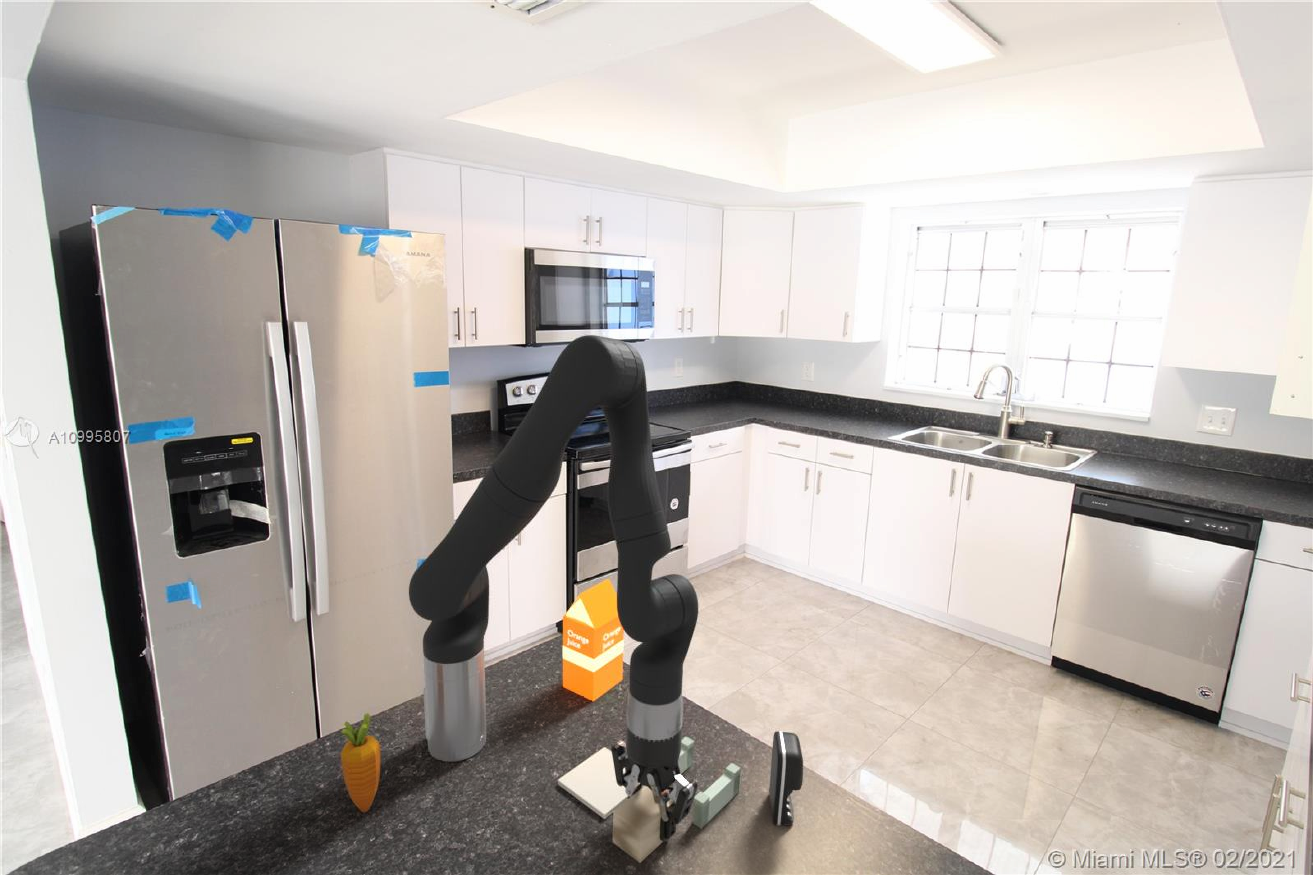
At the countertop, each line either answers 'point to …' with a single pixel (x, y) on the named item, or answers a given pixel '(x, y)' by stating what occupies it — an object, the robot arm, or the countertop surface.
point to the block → (637, 825)
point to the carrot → (361, 764)
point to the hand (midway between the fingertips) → (650, 825)
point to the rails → (716, 794)
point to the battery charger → (784, 776)
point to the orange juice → (593, 643)
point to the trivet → (596, 784)
